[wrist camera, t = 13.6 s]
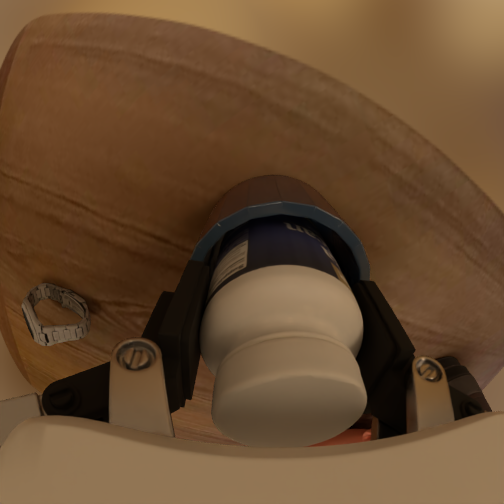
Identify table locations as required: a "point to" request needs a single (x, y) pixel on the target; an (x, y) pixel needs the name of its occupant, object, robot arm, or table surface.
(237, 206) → the cup
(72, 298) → the wristwatch
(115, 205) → the table surface
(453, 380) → the camera lens
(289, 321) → the pill bottle
